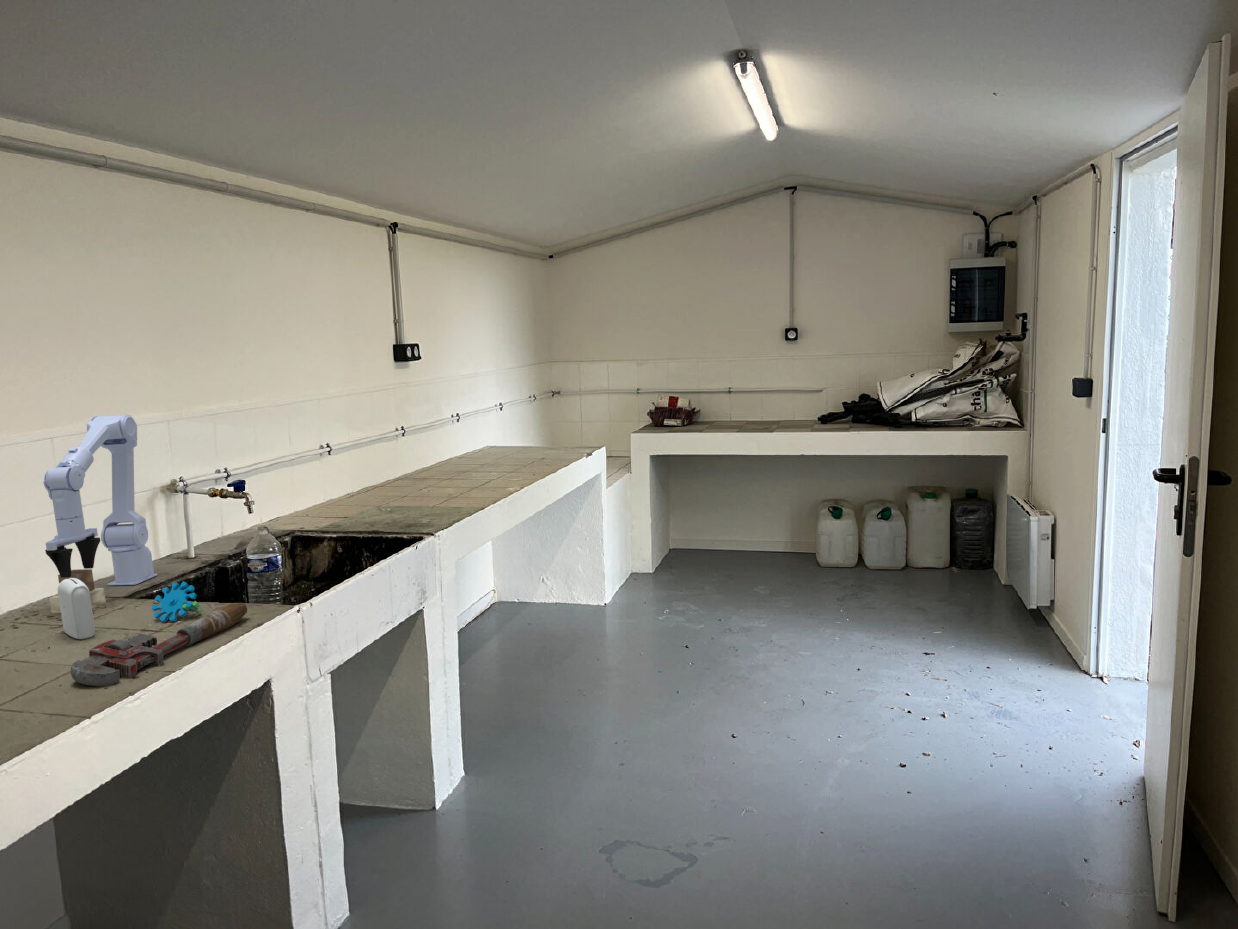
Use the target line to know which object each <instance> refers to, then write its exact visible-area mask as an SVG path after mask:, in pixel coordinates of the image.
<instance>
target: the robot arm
mask: <svg viewBox="0 0 1238 929" xmlns="http://www.w3.org/2000/svg"><path fill="white" fill-rule="evenodd" d="M137 446H138V425H137V422H136V421H135V419H134V418H133V417H132V416H131V415H130V414H123V415H105V416H96V415H95V416H92V417H90V419H89V420H88V422H86V434H85V435H84V437H83V439H82V441H81V442H80V444H79V445H78V446H73V447H70V448H69V449H68V452H67V453H66V454H65V455H64V456H63V457H62V459H61V460H60V461H59V463H58V464H57V465H56V466H55V467H50V468H49V469H48V470H46V472H45V474H44V475H43V477H44V478H43V483H42V484H43V485H44V488H45V490H46V492H47V493H48V497H49V499H50V500H51V501H52V508H53V513H54V518H55V521H54V522H55V526H56V532H57V533H56V535H55V536H54V538H53V539H51V540H48V541H46V542H45V550H44V551H45V555H46V556H47V557H49V559H50V560H51V561H52V562H53V564H54V565H55V568H56V569H57V571H58V575H60V576H61V577H71V570H72V564H71V563H72V562H71V560H72V553H73V548H67V546H69V545H72V544H75V546H76V548H77V550H78V552H79V555H80V559H81V565H82V567H83V569H92V570H93V568H94V567H95V558H96V555H97V554H96V553H97V551H98V547H99V544H100V543H102V545H103V546H104V547H105V548H106V549H107V551H108V552H111V558H112V559H111V560H112V566H113V574H114V580H113V581H110V582H109V583H107V586H134V585H135V586H136V585H137V584H138V585H139V584H140V583H142V582H143V583H144V582H145V581H147V580H150V579H152V578H154V577H156V576H158V574H157V573H155V570H154V564H153V563H154V562H153V556H152V551H151V549H150V548H149V547H148V546H146V544H147V542H148V539H149V530H148V527H147V521H146V518H145V517H144V516H142V515H141V514H139V513H138V512H137V511H135V464H134V462H135V460H134V457H135V454H134V453H135V452H134V451H135V450H134V448H136V447H137ZM100 447H101V448H103V449H105V450H108V451H109V452H110V453H111V492H112V493H111V495H112V496H111V500H112V501H111V503H112V504H111V505H112V507H111V508H112V510H111V511H112V512H111V513H110V514H109V515H108V516H107V517H105V518H104V519H103V521H102V523H103V524H102V525H103V526H102V530H101V534H100V537H99V533H98V529H97V527H96V528H94V527H93V528H87V529H86V525H85V518H84V512H83V505H82V497H81V493H80V492H81V491H80V490H81V489H82V488H83V487H84V482H85V478H86V472H87V471H88V470H89V468H90V467H91V466H92V464H93V462H94V461H95V460H94V459H95V458H94V454H95V453H96V451H98V449H99V448H100Z"/></svg>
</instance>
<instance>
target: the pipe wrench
mask: <svg viewBox="0 0 1238 929" xmlns="http://www.w3.org/2000/svg"><path fill="white" fill-rule="evenodd" d="M247 613H248V606H247V605H246V604H245V603H243V602H233V603H229V604H227V605H223V606H221V607H218V608H217V609H215V610H214V611H211V612H210V613H207V614H206V615H204V616H202V617H200V618H199V619H197V620H195V621H193V622H192V623H190V624H188V625H186V626H184V627H182V628H179V629H178V630H177V631H176V634H175V635H173V636H171V637H169V638H166V639H165V640H163V641H161V642H160V643H158V639H157V637H156V636H153V635H148V634H143V633H138V634H137V635H133V636H132V637H129V638H127V639H125V640H124V639H110V640H106V641H104V642H102V643H100V644H97V645H96V646H94V647H92V648H90V649H89V654H88V657H87V658H84V659H81V660H79V659H78V660H76V661H74V662H73V663H72V664H71V666H70V671H69V672H70V674H71V678H72V679H73V681H75V682H77V683H79V684H80V685H86V686H93V687H104V686H110V685H114V684H118V683H120V682H121V680H120V678H121V677H123V678H128V679H130V678H132V677H134V676H136V675H137V672H138V671H139V670H141V669H142V668H144V667H145V666H161V665H162V664H164V656H165V655H168V654H170V653H172V652H174V651H175V650H177V649H179V648H181V647H190V646H192V645H193V644H195V643H197V642H199V641H201V640H204V639H206V638H209V637H210V636H214V635H215V634H217V633H220V632H221V631H223V630H225V629H228V628H230V627H232V626H233V625H235V624H237V623H238V622H240V621H241V620H242V618H244V617H245V615H246V614H247Z"/></svg>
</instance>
